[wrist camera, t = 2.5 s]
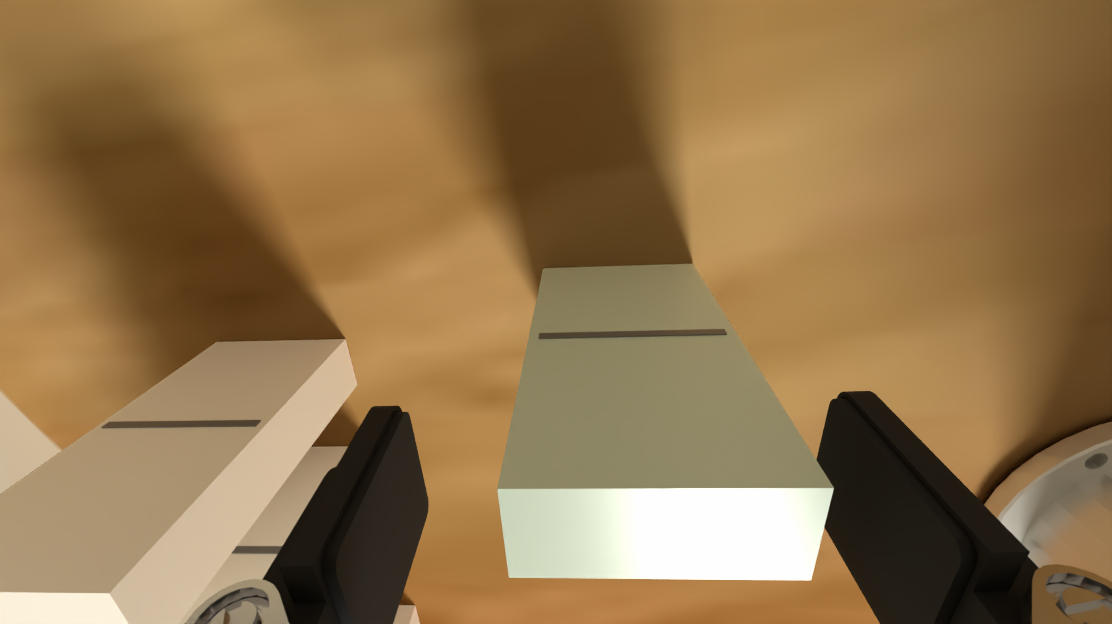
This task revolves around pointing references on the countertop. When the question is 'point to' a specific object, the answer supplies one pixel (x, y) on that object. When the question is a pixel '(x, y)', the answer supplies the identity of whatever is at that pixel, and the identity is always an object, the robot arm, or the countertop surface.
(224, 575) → the domino
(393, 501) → the robot arm
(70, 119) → the countertop surface
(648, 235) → the countertop surface
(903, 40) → the countertop surface
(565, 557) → the sage domino
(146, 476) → the domino
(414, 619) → the domino
